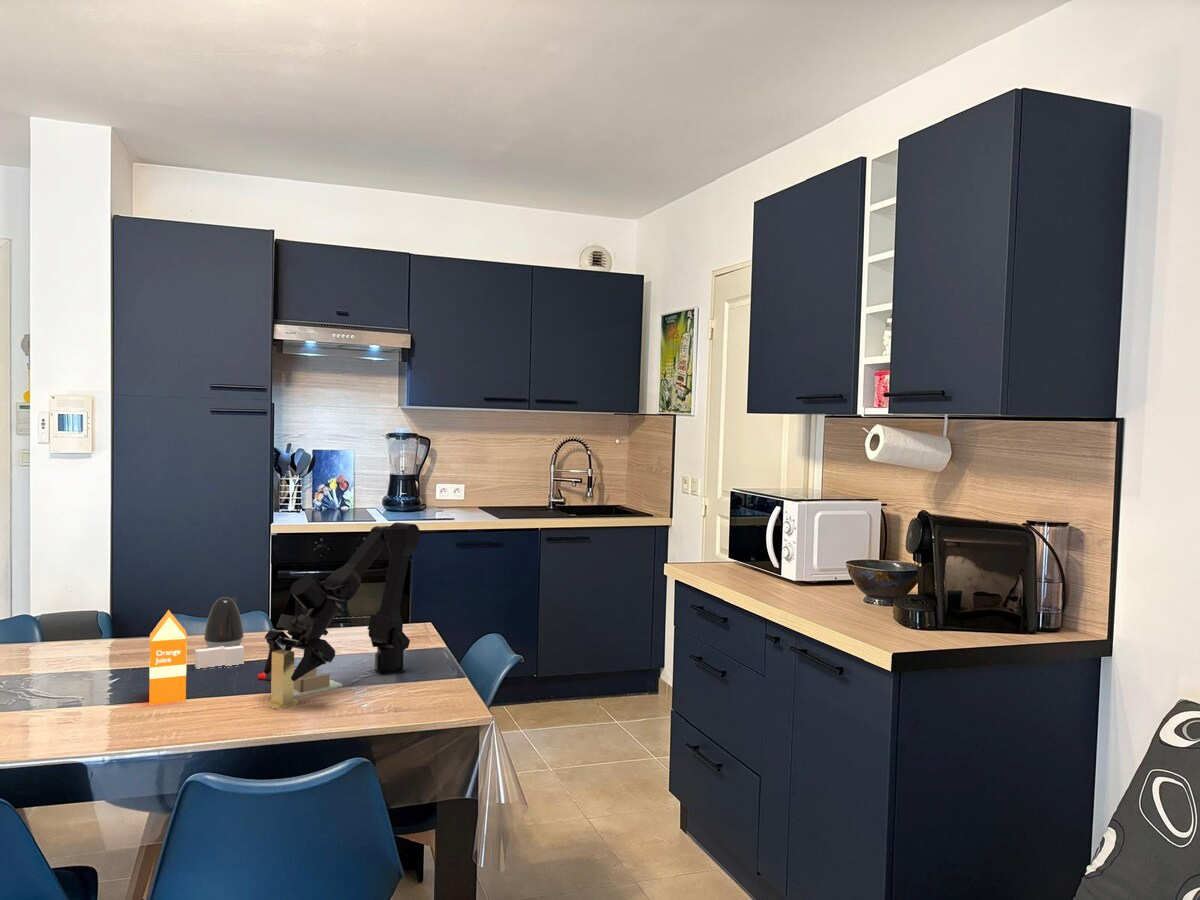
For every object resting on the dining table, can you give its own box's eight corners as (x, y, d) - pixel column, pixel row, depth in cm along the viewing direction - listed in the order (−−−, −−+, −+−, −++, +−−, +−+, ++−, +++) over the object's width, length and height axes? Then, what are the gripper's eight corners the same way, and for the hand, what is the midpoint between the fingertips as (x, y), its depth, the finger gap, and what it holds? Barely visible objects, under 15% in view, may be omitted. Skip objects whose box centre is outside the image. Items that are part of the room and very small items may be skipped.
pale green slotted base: (323, 679, 220) (324, 665, 220) (342, 686, 214) (342, 672, 214) (275, 689, 210) (275, 674, 210) (293, 697, 204) (293, 682, 204)
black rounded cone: (251, 647, 249) (252, 595, 249) (227, 656, 239) (228, 601, 238) (220, 644, 251) (221, 592, 251) (196, 653, 241) (196, 599, 241)
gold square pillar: (285, 701, 202) (286, 648, 201) (296, 704, 200) (297, 650, 199) (267, 706, 197) (268, 652, 197) (279, 710, 195) (280, 655, 195)
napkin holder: (182, 673, 223) (182, 651, 223) (205, 661, 234) (205, 641, 234) (238, 676, 222) (239, 654, 222) (258, 664, 234) (259, 643, 233)
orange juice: (148, 705, 197) (149, 618, 196) (148, 694, 204) (149, 610, 204) (186, 700, 200) (187, 615, 200) (185, 690, 208) (186, 608, 208)
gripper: (272, 595, 206) (230, 650, 197) (326, 605, 197) (286, 663, 188) (297, 622, 213) (259, 677, 204) (351, 633, 204) (314, 690, 195)
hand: (278, 676), depth 197 cm, fingers open, 9 cm apart
